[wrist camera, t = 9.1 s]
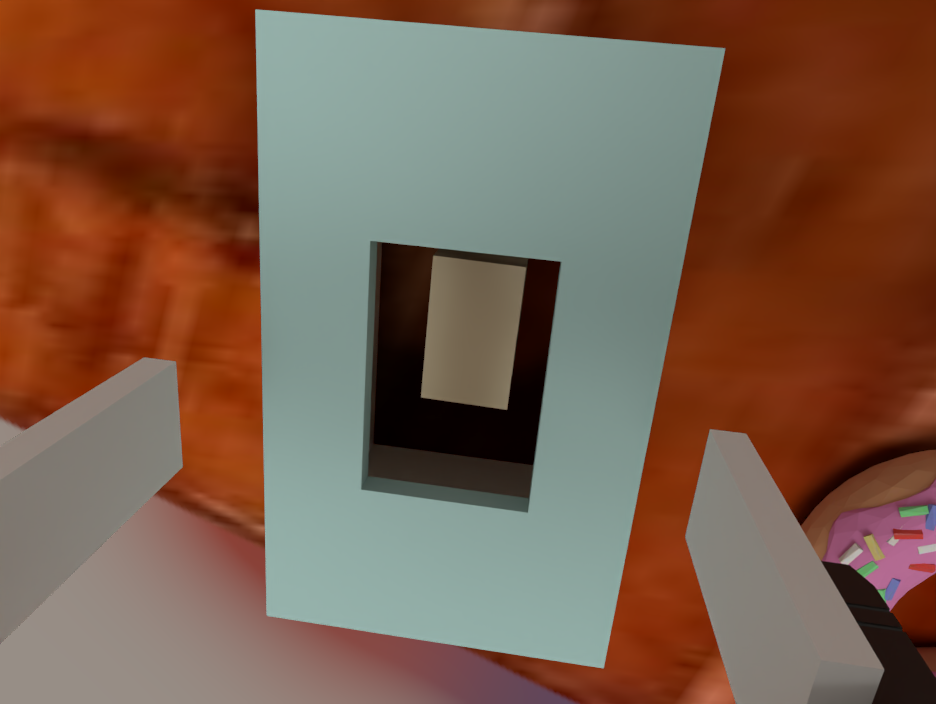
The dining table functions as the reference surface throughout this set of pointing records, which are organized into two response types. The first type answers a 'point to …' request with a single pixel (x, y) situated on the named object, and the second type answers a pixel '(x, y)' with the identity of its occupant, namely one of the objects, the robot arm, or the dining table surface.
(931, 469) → the donut
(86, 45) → the dining table surface
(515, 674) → the dining table surface
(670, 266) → the box
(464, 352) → the beige rectangular block
